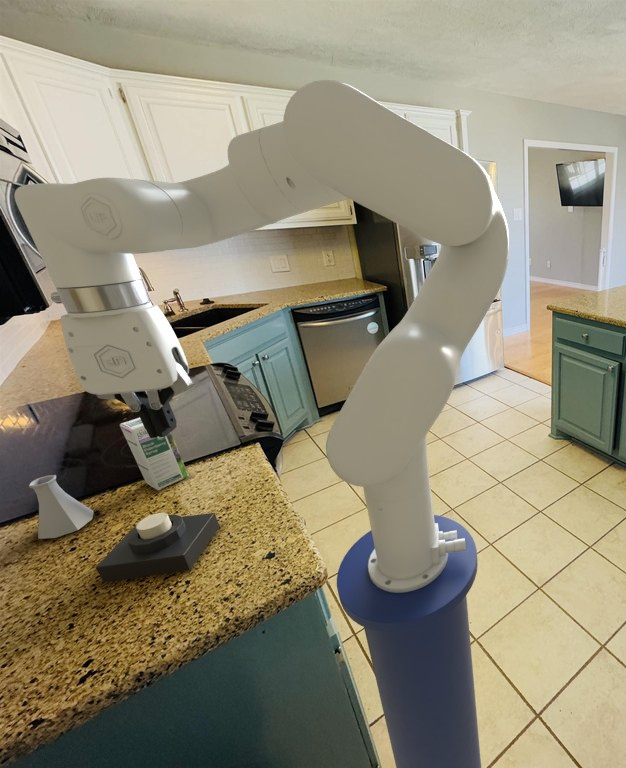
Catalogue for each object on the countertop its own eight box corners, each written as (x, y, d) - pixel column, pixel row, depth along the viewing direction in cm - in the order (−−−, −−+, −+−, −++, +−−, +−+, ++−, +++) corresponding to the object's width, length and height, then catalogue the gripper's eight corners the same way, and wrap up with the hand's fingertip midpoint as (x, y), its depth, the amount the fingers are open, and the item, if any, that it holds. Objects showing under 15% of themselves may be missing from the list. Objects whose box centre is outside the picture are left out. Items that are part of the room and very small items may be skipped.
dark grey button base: (220, 526, 73) (211, 504, 71) (190, 570, 64) (179, 546, 62) (145, 536, 71) (134, 513, 69) (103, 583, 62) (89, 558, 60)
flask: (28, 545, 70) (-1, 497, 66) (53, 518, 76) (28, 473, 72) (82, 533, 72) (57, 486, 69) (102, 508, 79) (80, 464, 75)
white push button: (177, 520, 68) (173, 511, 67) (163, 538, 65) (158, 527, 64) (150, 524, 68) (146, 514, 67) (134, 541, 64) (129, 531, 63)
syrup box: (157, 491, 83) (130, 429, 78) (145, 483, 86) (118, 422, 80) (189, 477, 88) (166, 417, 82) (176, 469, 90) (152, 411, 85)
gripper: (4, 310, 44) (80, 454, 51) (157, 300, 46) (210, 439, 53) (62, 297, 51) (122, 426, 58) (193, 289, 53) (235, 414, 60)
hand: (164, 432), depth 56 cm, fingers closed
